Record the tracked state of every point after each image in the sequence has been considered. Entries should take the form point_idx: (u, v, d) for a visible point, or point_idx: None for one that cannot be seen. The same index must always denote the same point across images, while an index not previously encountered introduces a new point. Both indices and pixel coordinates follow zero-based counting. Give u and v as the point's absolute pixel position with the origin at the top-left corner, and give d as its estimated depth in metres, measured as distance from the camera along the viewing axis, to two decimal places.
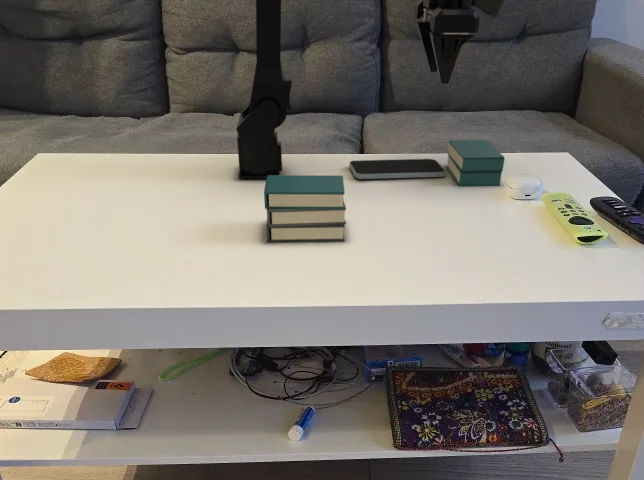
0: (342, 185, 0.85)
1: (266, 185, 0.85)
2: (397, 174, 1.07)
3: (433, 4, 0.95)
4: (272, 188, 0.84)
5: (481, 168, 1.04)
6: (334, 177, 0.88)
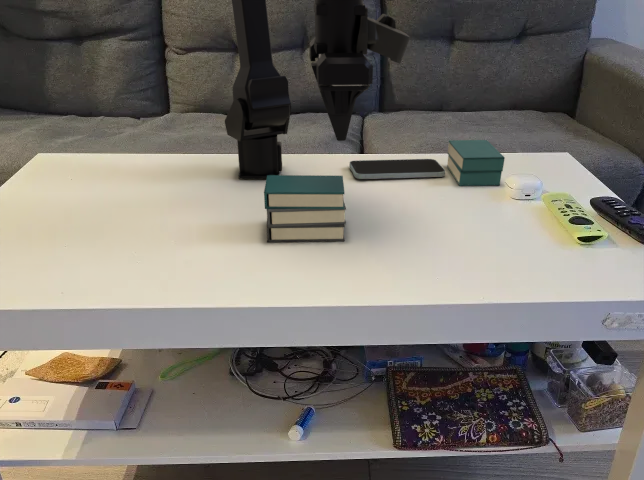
0: (342, 185, 0.85)
1: (266, 185, 0.85)
2: (397, 174, 1.07)
3: (321, 48, 0.79)
4: (272, 188, 0.84)
5: (481, 168, 1.04)
6: (334, 177, 0.88)
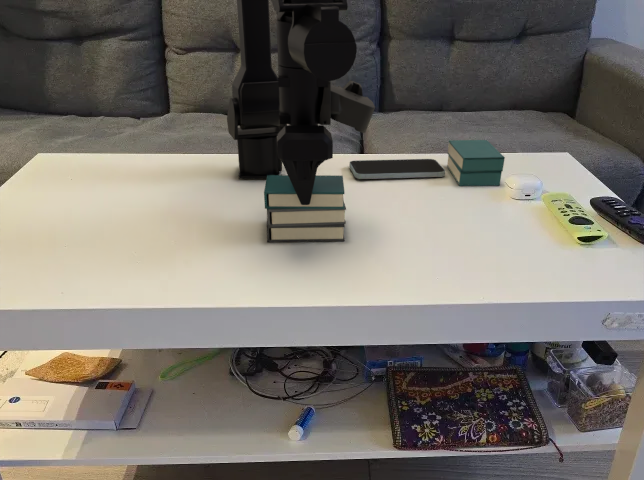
0: (342, 185, 0.85)
1: (266, 185, 0.85)
2: (397, 174, 1.07)
3: (285, 118, 0.79)
4: (272, 188, 0.84)
5: (481, 168, 1.04)
6: (334, 177, 0.88)
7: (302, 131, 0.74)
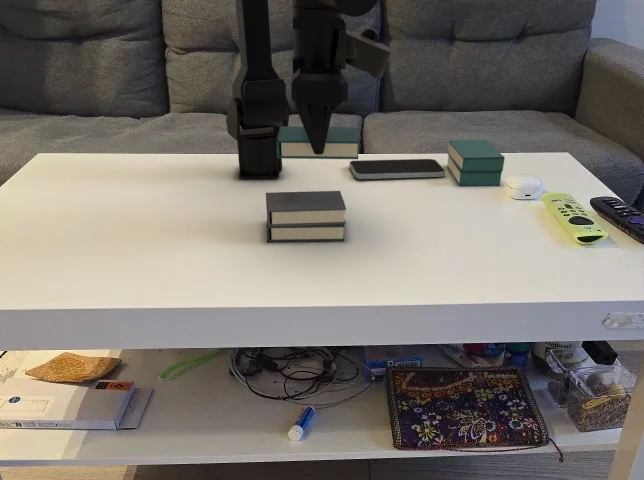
0: (356, 135, 0.83)
1: (279, 134, 0.83)
2: (397, 174, 1.07)
3: (299, 63, 0.77)
4: (285, 137, 0.82)
5: (481, 168, 1.04)
6: (348, 128, 0.86)
7: (317, 72, 0.72)
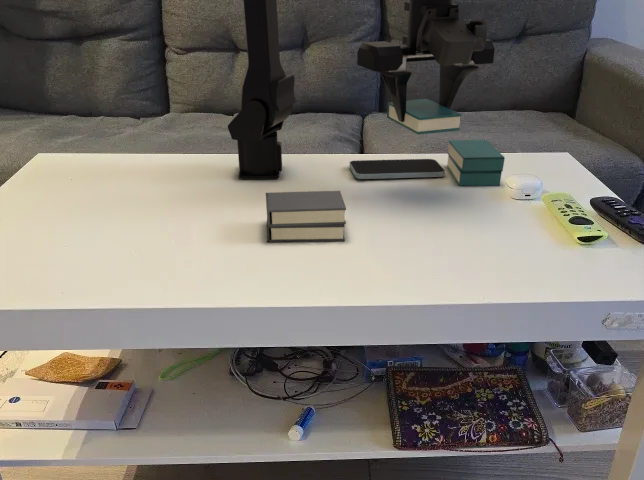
0: (435, 116, 0.91)
1: None
2: (397, 174, 1.07)
3: (404, 39, 0.91)
4: None
5: (481, 168, 1.04)
6: (451, 112, 0.92)
7: (374, 44, 0.87)
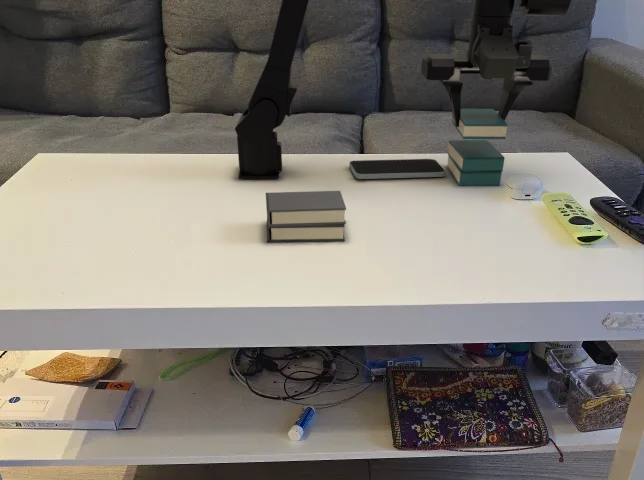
0: (481, 123, 1.00)
1: None
2: (397, 174, 1.07)
3: (467, 54, 1.01)
4: (462, 109, 1.08)
5: (481, 168, 1.04)
6: (500, 122, 1.01)
7: (433, 56, 0.99)
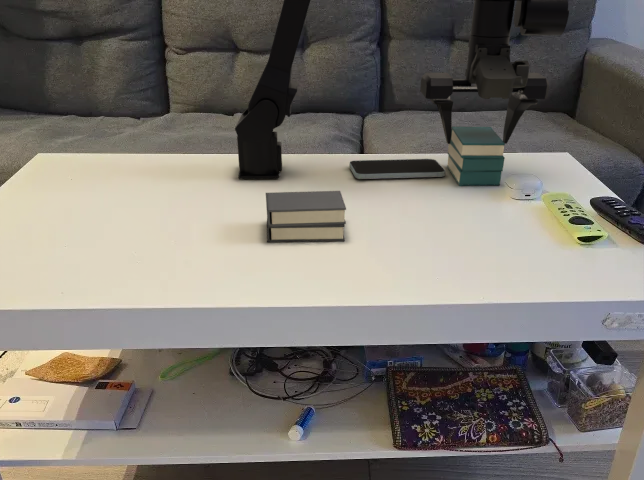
0: (478, 143, 1.02)
1: None
2: (397, 174, 1.07)
3: (466, 72, 1.03)
4: (460, 128, 1.09)
5: (481, 168, 1.04)
6: (497, 141, 1.03)
7: (432, 75, 1.01)
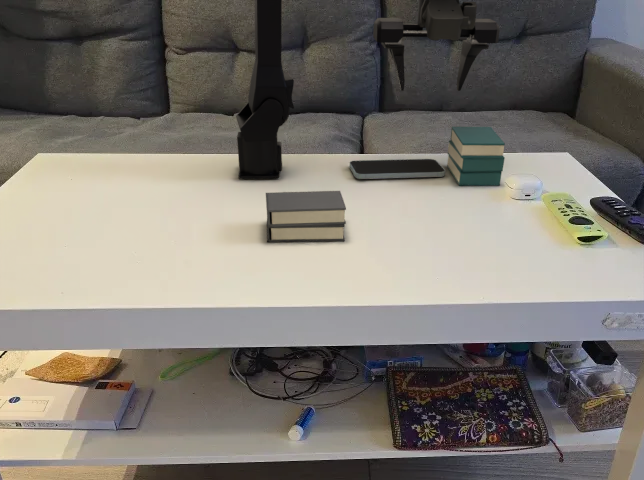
0: (478, 143, 1.02)
1: None
2: (397, 174, 1.07)
3: None
4: (460, 128, 1.09)
5: (481, 168, 1.04)
6: (497, 141, 1.03)
7: (384, 19, 1.02)
